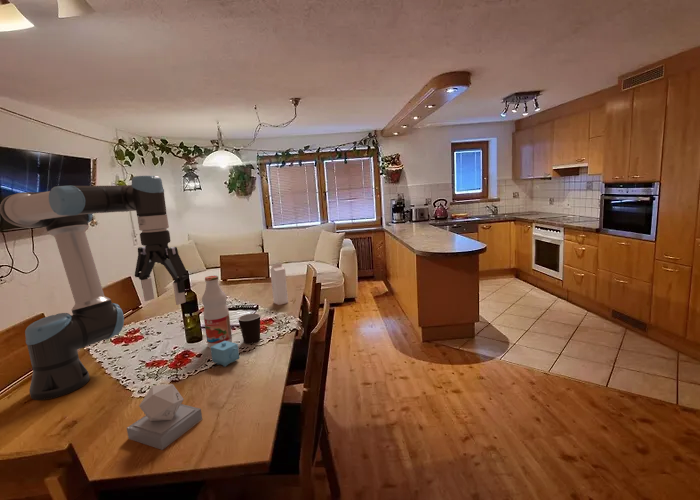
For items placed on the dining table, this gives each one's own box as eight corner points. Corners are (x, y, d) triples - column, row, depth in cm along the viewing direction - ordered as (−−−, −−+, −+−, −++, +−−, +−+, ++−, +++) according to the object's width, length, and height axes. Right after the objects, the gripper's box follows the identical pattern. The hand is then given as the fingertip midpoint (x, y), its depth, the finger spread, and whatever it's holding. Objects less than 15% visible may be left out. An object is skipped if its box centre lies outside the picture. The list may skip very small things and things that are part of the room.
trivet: (128, 438, 87) (126, 426, 87) (170, 410, 98) (168, 400, 98) (162, 449, 83) (160, 437, 82) (202, 419, 93) (200, 407, 93)
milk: (273, 303, 195) (269, 263, 191) (283, 300, 198) (279, 262, 195) (278, 305, 190) (274, 265, 187) (288, 302, 194) (284, 263, 190)
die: (156, 435, 84) (179, 395, 86) (125, 416, 85) (149, 377, 87) (174, 425, 92) (195, 389, 94) (145, 408, 93) (167, 373, 95)
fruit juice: (237, 340, 145) (229, 274, 141) (221, 350, 136) (212, 279, 132) (219, 338, 148) (210, 273, 144) (202, 348, 140) (192, 279, 136)
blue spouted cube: (246, 362, 125) (243, 342, 124) (231, 370, 120) (229, 349, 119) (224, 356, 131) (222, 336, 130) (210, 363, 126) (207, 343, 125)
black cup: (259, 344, 140) (257, 320, 138) (238, 345, 140) (235, 321, 138) (266, 333, 151) (264, 310, 150) (246, 334, 151) (244, 311, 150)
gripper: (114, 232, 104) (125, 302, 107) (173, 231, 93) (184, 309, 96) (138, 229, 110) (148, 295, 114) (196, 228, 100) (205, 300, 103)
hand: (164, 301), depth 105 cm, fingers open, 13 cm apart
